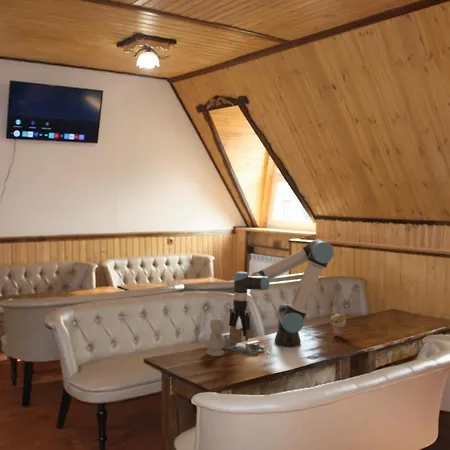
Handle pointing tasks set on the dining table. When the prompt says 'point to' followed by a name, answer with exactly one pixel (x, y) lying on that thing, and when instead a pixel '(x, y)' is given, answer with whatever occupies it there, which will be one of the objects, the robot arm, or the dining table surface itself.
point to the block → (237, 334)
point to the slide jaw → (252, 345)
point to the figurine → (215, 338)
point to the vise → (239, 346)
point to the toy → (338, 322)
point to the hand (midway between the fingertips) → (238, 340)
